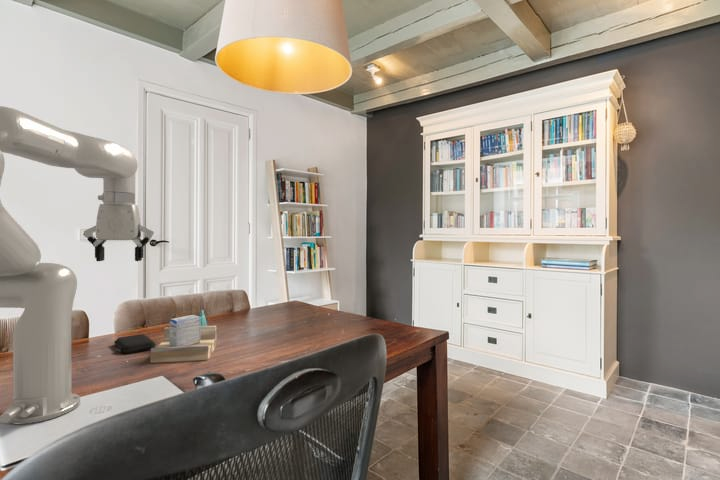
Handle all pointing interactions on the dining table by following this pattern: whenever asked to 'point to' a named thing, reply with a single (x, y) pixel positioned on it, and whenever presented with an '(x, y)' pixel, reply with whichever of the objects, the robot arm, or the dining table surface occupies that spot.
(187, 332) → the medicine box
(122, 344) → the carrying case or bag
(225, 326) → the dining table surface
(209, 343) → the stepped wooden block
